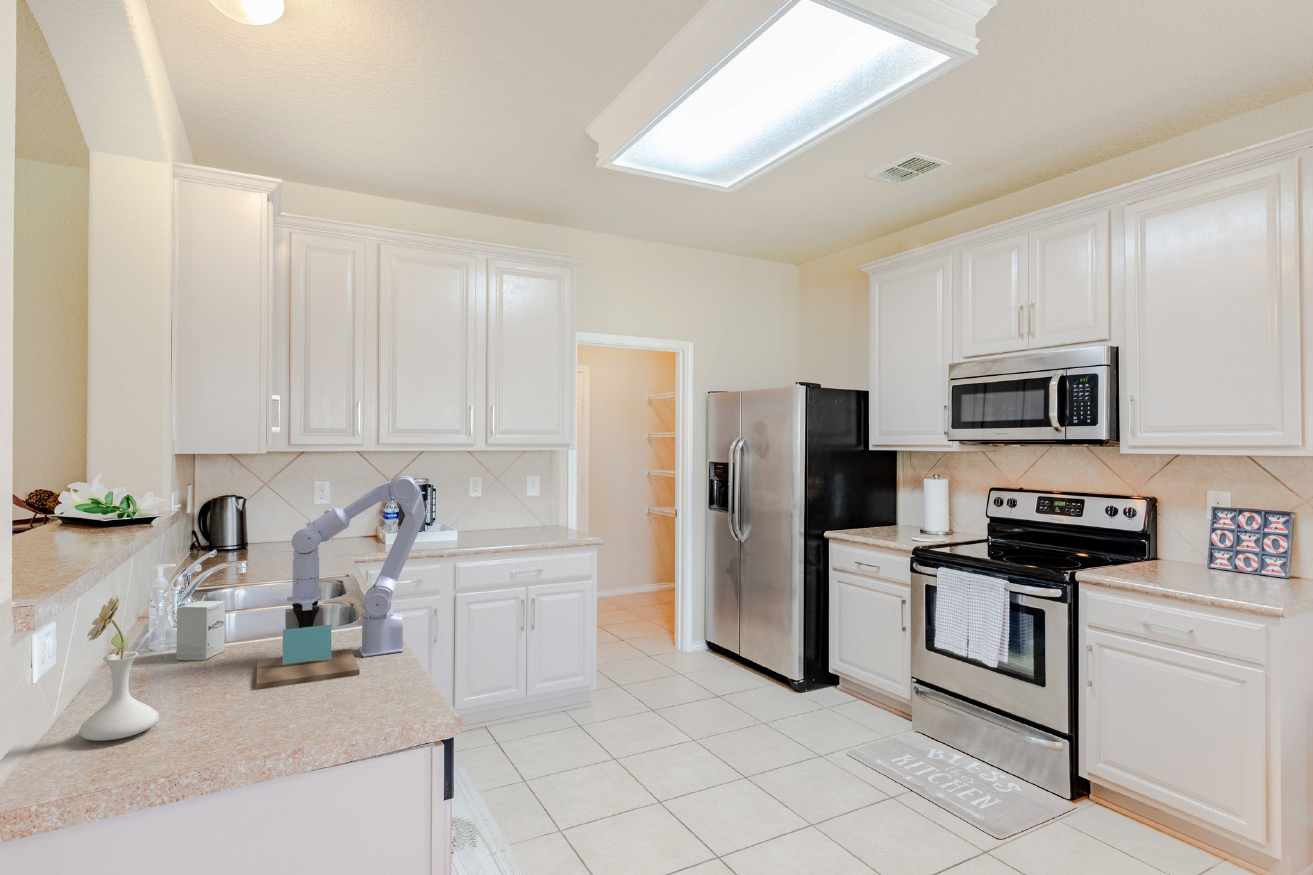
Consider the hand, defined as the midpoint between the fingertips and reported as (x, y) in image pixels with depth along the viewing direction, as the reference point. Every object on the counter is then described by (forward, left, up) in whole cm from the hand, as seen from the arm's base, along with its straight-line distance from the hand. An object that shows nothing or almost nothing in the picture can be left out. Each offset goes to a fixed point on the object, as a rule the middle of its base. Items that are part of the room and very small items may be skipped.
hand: (305, 634), depth 169 cm
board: (0, +11, -6) cm, 12 cm away
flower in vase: (+31, +34, -6) cm, 47 cm away
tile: (0, +8, 0) cm, 8 cm away
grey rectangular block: (0, 0, -3) cm, 3 cm away
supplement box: (+22, -13, -6) cm, 26 cm away
